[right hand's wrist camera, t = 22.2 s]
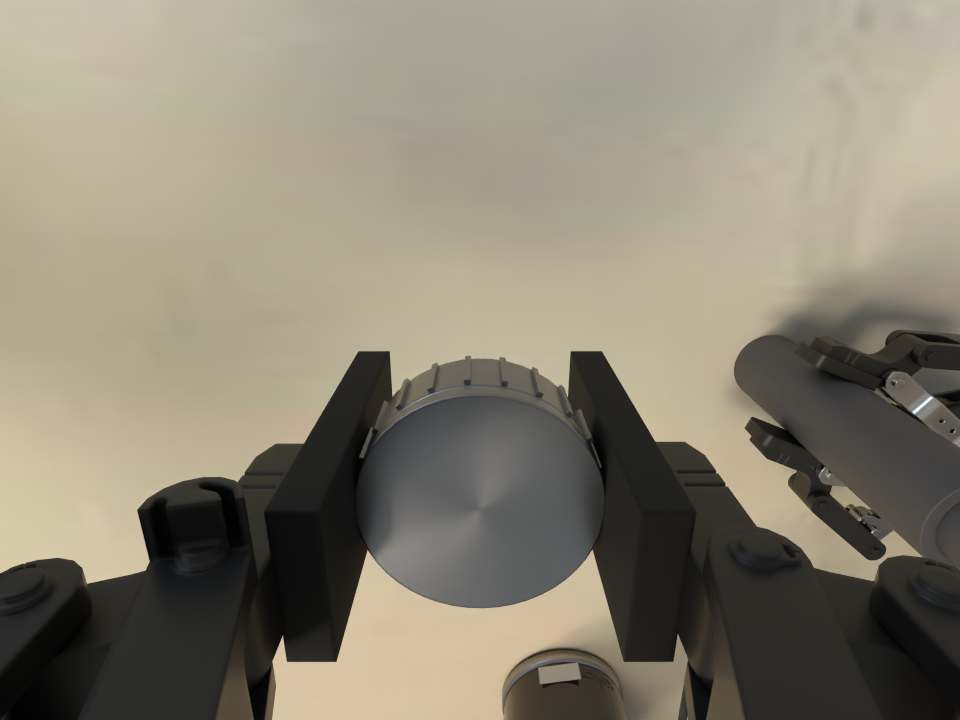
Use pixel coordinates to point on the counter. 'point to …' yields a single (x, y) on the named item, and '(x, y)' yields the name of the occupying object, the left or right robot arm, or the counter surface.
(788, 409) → the dark gray cylinder
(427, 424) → the lid
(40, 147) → the counter surface
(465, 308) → the counter surface
